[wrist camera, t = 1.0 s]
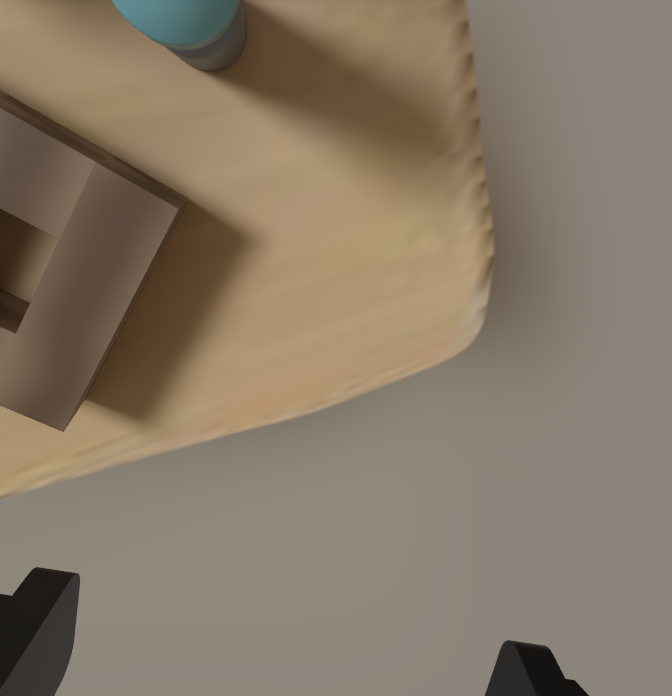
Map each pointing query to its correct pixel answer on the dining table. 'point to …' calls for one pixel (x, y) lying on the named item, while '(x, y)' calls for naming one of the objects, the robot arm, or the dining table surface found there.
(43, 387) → the socket
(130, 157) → the dining table surface
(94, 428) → the dining table surface
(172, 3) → the peg
